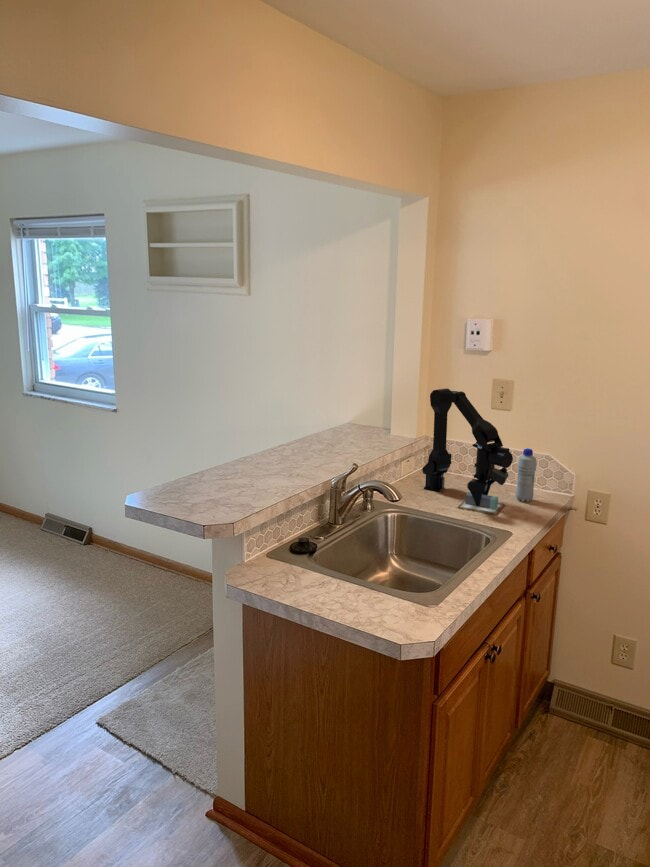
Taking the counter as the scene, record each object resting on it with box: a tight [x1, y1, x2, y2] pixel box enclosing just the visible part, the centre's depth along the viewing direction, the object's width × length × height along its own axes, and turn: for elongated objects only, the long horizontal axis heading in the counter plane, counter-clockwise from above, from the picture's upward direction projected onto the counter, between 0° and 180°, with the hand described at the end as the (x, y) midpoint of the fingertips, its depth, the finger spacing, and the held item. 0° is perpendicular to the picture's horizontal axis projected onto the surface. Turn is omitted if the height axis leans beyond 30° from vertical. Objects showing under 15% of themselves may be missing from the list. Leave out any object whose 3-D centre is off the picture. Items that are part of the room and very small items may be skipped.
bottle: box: [515, 448, 537, 503], centre depth 247 cm, size 7×7×20 cm
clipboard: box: [457, 498, 506, 516], centre depth 243 cm, size 14×12×1 cm
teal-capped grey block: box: [464, 491, 499, 509], centre depth 242 cm, size 11×4×4 cm, turn 61°
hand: (481, 502), depth 242 cm, fingers open, 9 cm apart
